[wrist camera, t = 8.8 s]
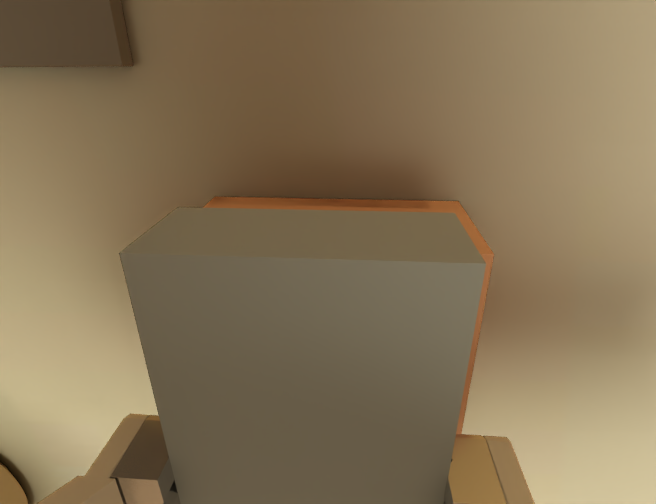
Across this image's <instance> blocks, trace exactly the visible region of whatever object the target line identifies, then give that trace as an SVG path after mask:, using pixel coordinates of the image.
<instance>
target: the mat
mask: <svg viewBox="0 0 656 504" xmlns="http://www.w3.org/2000/svg"><path fill="white" fill-rule="evenodd" d="M76 66H133V62H132V57H131V51H130V46H129V41H128V36H127V30H126V25H125V20H124V15H123V9H122V4H121V0H0V67H76Z"/></svg>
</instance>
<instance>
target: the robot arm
mask: <svg viewBox="0 0 656 504" xmlns="http://www.w3.org/2000/svg"><path fill="white" fill-rule="evenodd" d="M37 504H181V503H180V499H179V495H178V492H177V488H176V484H175V478H174V474H173V470H172V467H171V463H170V459H169V455H168V451H167V447H166V443H165V439H164V435H163V431H162V427H161V422H160V418H159V416H157V415H142V414H129V415H128V416H126V417H125V418H124V419H123V420H122V422H121V423H120V425H119V426H118V428H117V429H116V431H115V432H114V433H113V435H112V436H111V438H110V439H109V441H108V442H107V444H106V445H105V447H104V448H103V450H102V451H101V453H100V454H99V455H98V457H97V458H96V460H95V461H94V463H93V464H92V466H91V467H90V469H89V470H88V472H87V473H86V475H85V476H77V477H76V478H74V479H73V480H71V481H70V482H68V483H67V484H65V485H64V486H62V487H61V488H59V489H58V490H56V491H55V492H53V493H52V494H50V495H49V496H48V497H46V498H45V499H43V500H42V501H40V502H39V503H37ZM444 504H535V503H534V500H533V498H532V495H531V493H530V490H529V488H528V485H527V482H526V480H525V477H524V475H523V472H522V470H521V467H520V465H519V462H518V459H517V457H516V454H515V452H514V449H513V447H512V444H511V441H510V440H509V439H508V438H507V437H497V436H481V435H466V434H456V436H455V442H454V447H453V453H452V459H451V464H450V470H449V475H448V476H447V482H446V487H445V492H444Z"/></svg>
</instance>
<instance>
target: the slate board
mask: <svg viewBox="0 0 656 504" xmlns="http://www.w3.org/2000/svg"><path fill="white" fill-rule="evenodd" d="M119 254H120V258H121V262H122V267H123V271H124V275H125V279H126V283H127V287H128V291H129V295H130V299H131V303H132V308H133V312H134V316H135V320H136V324H137V328H138V332H139V336H140V340H141V345H142V349H143V353H144V357H145V361H146V365H147V369H148V373H149V377H150V381H151V386H152V390H153V394H154V398H155V402H156V406H157V410H158V414H159V418H160V422H161V427H162V431H163V435H164V439H165V443H166V447H167V451H168V455H169V459H170V463H171V467H172V470H173V474H174V478H175V484H176V488H177V492H178V495H179V499H180V503H181V504H444V492H445V487H446V482H447V476H448V475H449V470H450V464H451V459H452V453H453V447H454V442H455V436H456V431H457V425H458V419H459V414H460V408H461V402H462V397H463V391H464V386H465V380H466V374H467V369H468V363H469V357H470V352H471V346H472V341H473V335H474V329H475V324H476V318H477V312H478V307H479V301H480V296H481V290H482V284H483V279H484V273H485V267H486V263H485V261H484V259H483V258H482V256H481V255H480V253H479V251H478V250H477V248H476V246H475V245H474V243H473V242H472V240H471V238H470V237H469V235H468V233H467V232H466V230H465V229H464V227H463V225H462V224H461V222H460V220H459V219H458V217H457V216H456V214H455V213H441V212H392V211H344V210H295V209H246V208H198V207H177V208H176V209H175V210H174V211H172V212H171V213H170V214H168V215H167V216H166V217H165V218H163V219H162V220H161V221H159V222H158V223H157V224H156V225H154V226H153V227H152V228H151V229H149V230H148V231H147V232H145V233H144V234H143V235H142V236H140V237H139V238H138V239H136V240H135V241H134V242H133V243H131V244H130V245H129V246H128V247H126V248H125V249H124V250H122V251H121V252H120V253H119Z"/></svg>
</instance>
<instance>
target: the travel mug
mask: <svg viewBox="0 0 656 504" xmlns="http://www.w3.org/2000/svg"><path fill="white" fill-rule="evenodd" d="M0 504H28V501H27V498H26V495H25V493H24V491H23V489H22V488H21V486H20V484H19V483H18V481H17V480H16V479H15V478H14V476H13V475H12V474H11V473H10V471H9V470H8V469H7V468H6V466H4V465H3V464H2V463H0Z"/></svg>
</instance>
